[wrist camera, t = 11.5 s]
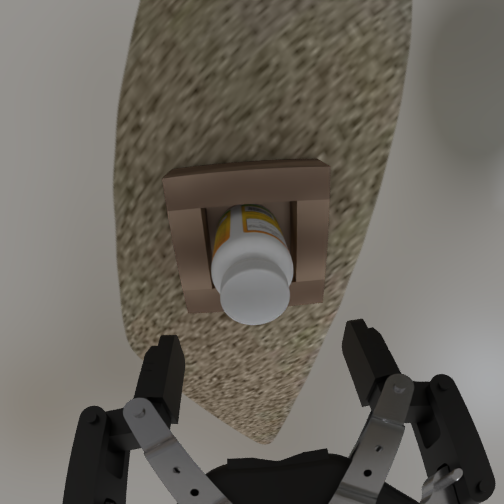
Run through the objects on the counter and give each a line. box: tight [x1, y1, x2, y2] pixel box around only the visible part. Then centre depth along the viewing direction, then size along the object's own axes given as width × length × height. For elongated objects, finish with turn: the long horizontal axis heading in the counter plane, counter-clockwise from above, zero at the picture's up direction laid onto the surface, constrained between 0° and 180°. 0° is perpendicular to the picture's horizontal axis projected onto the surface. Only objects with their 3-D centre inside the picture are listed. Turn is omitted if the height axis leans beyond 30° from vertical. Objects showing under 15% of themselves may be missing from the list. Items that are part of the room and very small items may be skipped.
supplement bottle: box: [211, 204, 293, 325], centre depth 20 cm, size 5×5×10 cm
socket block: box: [162, 159, 330, 313], centre depth 24 cm, size 12×12×4 cm
